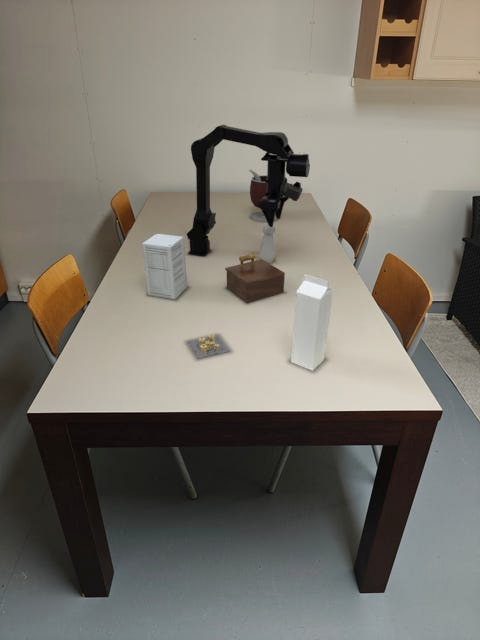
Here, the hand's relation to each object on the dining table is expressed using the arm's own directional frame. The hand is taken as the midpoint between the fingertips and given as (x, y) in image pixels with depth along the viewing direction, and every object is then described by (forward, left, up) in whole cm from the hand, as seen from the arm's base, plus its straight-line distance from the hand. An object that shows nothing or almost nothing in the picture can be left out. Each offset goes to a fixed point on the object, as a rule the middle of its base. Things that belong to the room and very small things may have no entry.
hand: (274, 222), depth 155 cm
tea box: (0, -23, -15) cm, 27 cm away
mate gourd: (-17, +50, -15) cm, 54 cm away
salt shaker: (-2, +1, -15) cm, 15 cm away
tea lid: (0, -23, -9) cm, 24 cm away
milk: (+23, -55, -15) cm, 62 cm away
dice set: (-2, -57, -15) cm, 59 cm away
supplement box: (-25, -32, -15) cm, 44 cm away
